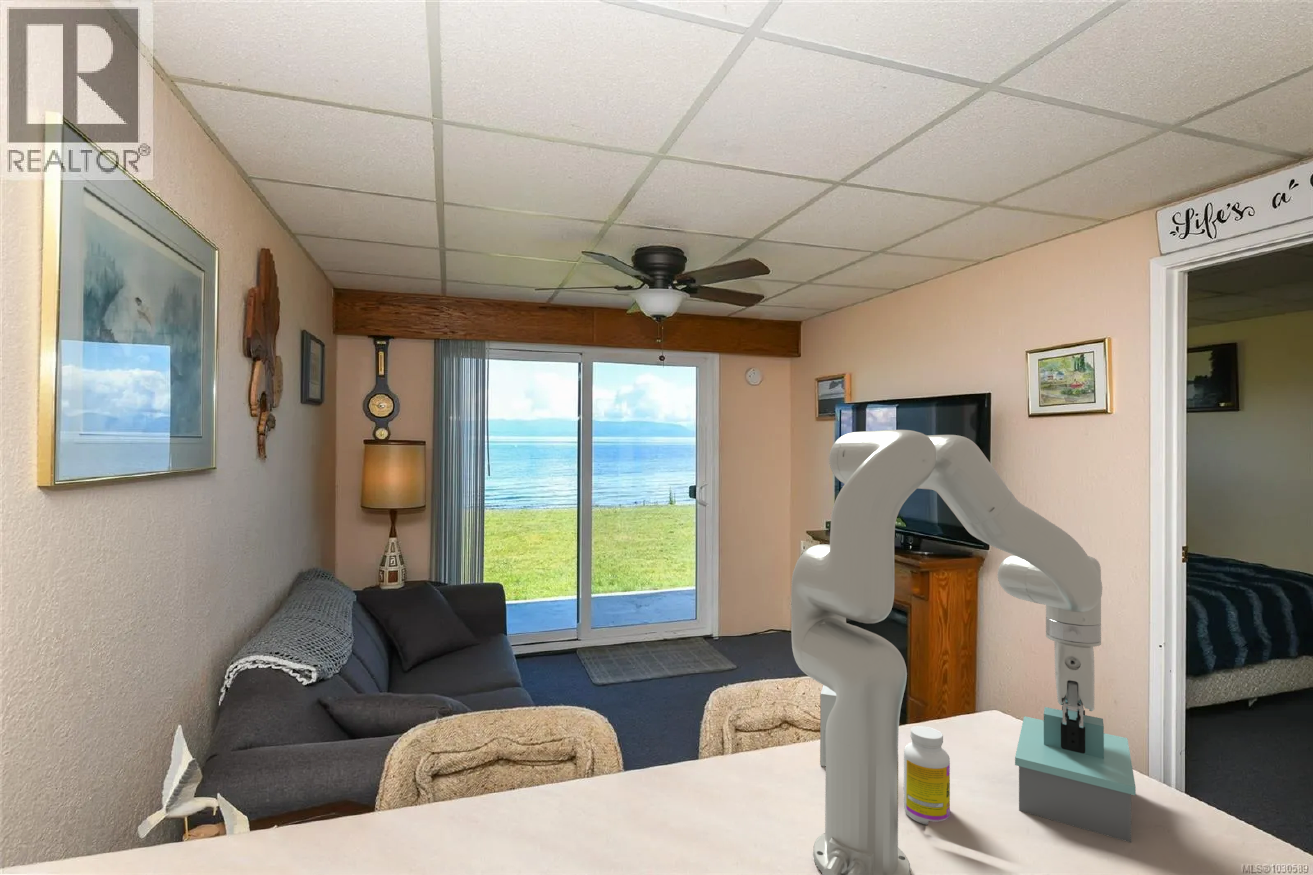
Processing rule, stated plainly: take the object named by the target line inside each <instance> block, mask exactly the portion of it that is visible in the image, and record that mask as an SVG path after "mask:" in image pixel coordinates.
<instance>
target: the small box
mask: <svg viewBox="0 0 1313 875" xmlns="http://www.w3.org/2000/svg"><path fill="white" fill-rule="evenodd" d="M819 696H820V698H819V700H820V711H819V712H820V713H819V715H820V716H819V718H820V719H819V720H820V722H819V723H820V724H819V726H820V729H819V730H820V731H819V732H820V733H819V736H820V738H819V740H820V743H819V747H820V748H819V751H820V752H819V754H820V755H819V756H820V757H819V765H820V767H825V766H826V745H825V738H826V724H827V720H828V717H829V715H830V712H831V711H832V709H833V707H834V705H835V702H836V697H837V696H836V693H835V692H834V691H832V690H831V689H829V688H828V687H826V686H824V685H823V684H822V686H821V689H820V694H819Z"/></svg>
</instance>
